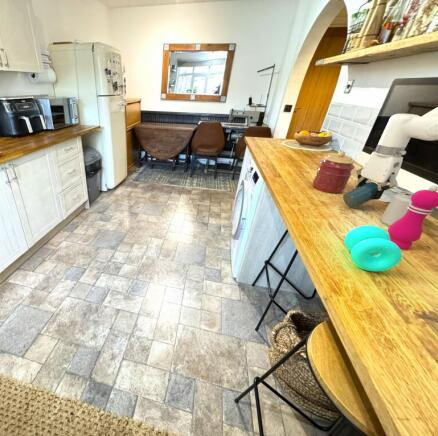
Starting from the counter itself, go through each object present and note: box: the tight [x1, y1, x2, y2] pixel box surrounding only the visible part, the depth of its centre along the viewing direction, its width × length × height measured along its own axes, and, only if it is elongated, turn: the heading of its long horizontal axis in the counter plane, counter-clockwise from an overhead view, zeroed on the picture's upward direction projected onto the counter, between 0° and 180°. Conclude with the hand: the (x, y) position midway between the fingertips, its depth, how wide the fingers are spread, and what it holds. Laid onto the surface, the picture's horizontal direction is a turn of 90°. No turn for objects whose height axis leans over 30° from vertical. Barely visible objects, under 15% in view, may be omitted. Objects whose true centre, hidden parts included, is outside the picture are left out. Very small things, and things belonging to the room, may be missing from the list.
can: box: [380, 190, 415, 228], centre depth 84 cm, size 8×8×12 cm
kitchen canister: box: [311, 151, 356, 194], centre depth 111 cm, size 13×13×18 cm
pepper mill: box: [387, 185, 438, 251], centre depth 71 cm, size 7×7×20 cm
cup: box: [342, 181, 378, 209], centre depth 96 cm, size 6×6×10 cm
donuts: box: [343, 224, 403, 273], centre depth 66 cm, size 10×10×10 cm
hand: (366, 195), depth 96 cm, fingers closed on cup, 6 cm apart
